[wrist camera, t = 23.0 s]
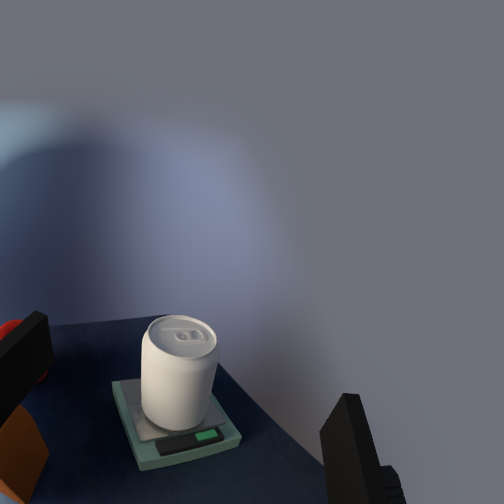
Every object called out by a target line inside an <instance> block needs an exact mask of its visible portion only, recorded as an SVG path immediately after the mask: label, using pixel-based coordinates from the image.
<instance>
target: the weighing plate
mask: <svg viewBox="0 0 504 504" xmlns="http://www.w3.org/2000/svg"><path fill="white" fill-rule="evenodd" d="M119 382H120V386H121V389H122V393H123V396H124V399H125V402H126V405H127V408H128V410H129V413H130V416H131V419H132V421H133V424H134V427H135V429H136V432H137V435H138V437H139V440H140V442H141V443H146V442H151V441H156V440H162V439H167V438H172V437H176V436H181V435H185V434H190V433H194V432H198V431H202V430H206V429H210V428H214V427H217V426H221V425H225V424H226V421H225V420H224V418H223V417H222V415H221V414H220V412H219V411H218V409H217V408H216V406H215V404H214V403H213V401H212V400H211V398H209V403H208V407H207V412H206V415H205V417H204V419H203V420H202V422H201V423H199V424H198V425H197V426H195V427H193V428H190V429H187V430H169V429H165V428H162V427H160V426H158V425H156V424H155V423H153V422H152V421H151V420H150V419H149V418H148V417H147V416H146V415H145V413H144V411H143V409H142V404H141V378H140V379H131V380H121V381H119Z"/></svg>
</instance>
